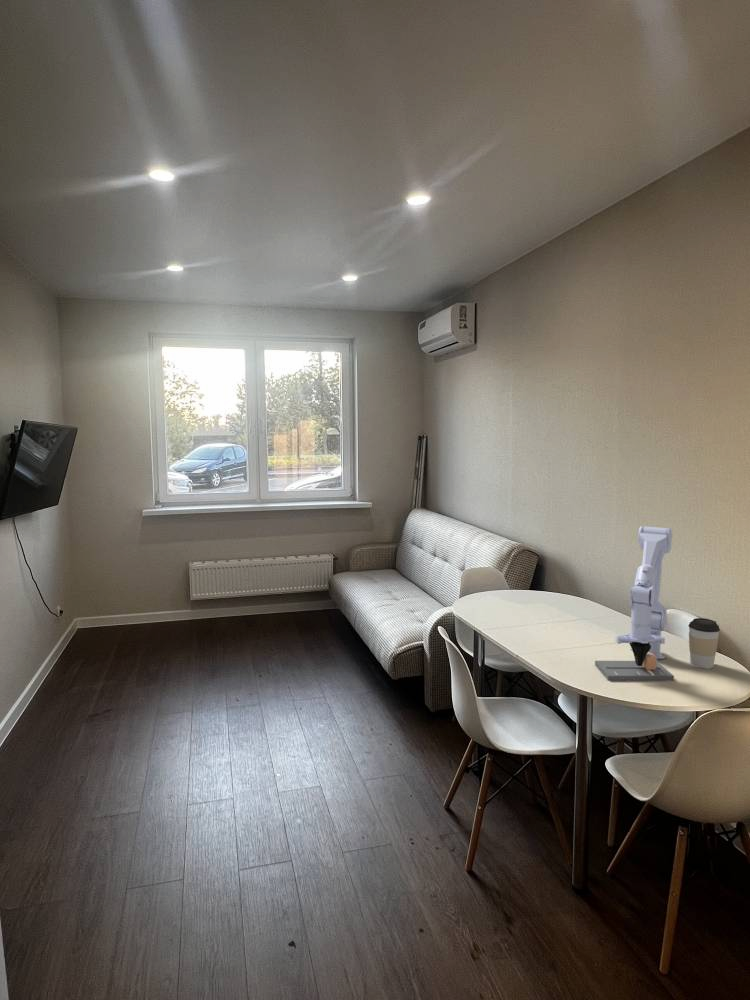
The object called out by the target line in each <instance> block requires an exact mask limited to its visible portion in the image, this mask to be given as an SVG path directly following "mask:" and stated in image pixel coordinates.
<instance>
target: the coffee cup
mask: <svg viewBox="0 0 750 1000" xmlns="http://www.w3.org/2000/svg"><path fill="white" fill-rule="evenodd" d="M720 631H721V629H720V626H719V625H718V624H717V621H715V620H713V619H709V618H704V617H697V618H693V620H692V621H690V622H689V624H688V646H689V647H688V648H689V661H690V663H689V664H690V665H692V666H694V667H696V668H700V669H712V668H714V666H715V659H716V655H717V649H718V644H719V634H720Z"/></svg>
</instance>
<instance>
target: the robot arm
mask: <svg viewBox="0 0 750 1000" xmlns="http://www.w3.org/2000/svg"><path fill="white" fill-rule="evenodd" d="M637 535H638V536H637V539H638V543H639V546H640V549H641V550H642V552H643V553H642V561H641V562H642V563H641V565H640V566H638V567H637V570H636V574H635V580H634V584H633V585H632V586H631V588H630V592H629V601H630V602H629V603H630V609H631V611H630V613H631V614H630V615H631V617H630V634H629V633H628V634H621V635H616V636H615V642H616V643H617V644H628V645H629V646H630V649H631V651H632V653H633V656H634V661H635V662H636V664H637V665H638V666H642V664H643V661H644V659H645V656H646V655H647V653H648V652H650V653H653V654H654V655H655V656H656V657H657V660H658V659H659V660H664V659H666V657H665V656H664V655H663V654H661V645H664V644H665V639H666V638H665V637H664V636H663V635H662V632H664V631H665V630H666V628H667V622H668V615H667V613H668V609H667V608H666V606H665V605H663V604H662V603H661V602H660V590H661V580H662V579H661V578H662V570H663V569H662V568H663V559H664V556H665V555H666V554H668V553H671V549H672V544H673V543H672V541H673V540H672V539H673V530H672V528H670V527H668V528H667V527H657V526H655V527H654V526H644V525H641V526H640V527H639V529H638V534H637Z"/></svg>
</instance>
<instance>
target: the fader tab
mask: <svg viewBox="0 0 750 1000" xmlns="http://www.w3.org/2000/svg"><path fill="white" fill-rule="evenodd" d="M657 661H658V659H657V657H656V656H655V655H654V654H653V653H650V652H648V653H647V655H646V656H645V659H644V661H643V664H642V666H643V667H644V668H645V669H653V670H656V663H657Z"/></svg>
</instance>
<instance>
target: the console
mask: <svg viewBox="0 0 750 1000" xmlns="http://www.w3.org/2000/svg"><path fill="white" fill-rule="evenodd" d="M594 666H595V667H596V668H597V669H598V670H599V671H600V673H601V674H602V676H604V677H605V679H606V680H607V681H635V682H637V681H642V682H643V681H646V682H647V681H649V682H652V681H655V682H657V681H661V682H662V681H665V682H666V681H669V682H670V681H671V682H672V681H673V682H674V680H675V676H674V675H673V674H672V673H671V671H669V670H668V669H667V668H666V667H664V666H663V665H662V664H661V663H660V662H659V661H658V660H657V663H656V670H653V669H645V668H644V667H643V666H638V665H637V664H636V662H635V660H594Z"/></svg>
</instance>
